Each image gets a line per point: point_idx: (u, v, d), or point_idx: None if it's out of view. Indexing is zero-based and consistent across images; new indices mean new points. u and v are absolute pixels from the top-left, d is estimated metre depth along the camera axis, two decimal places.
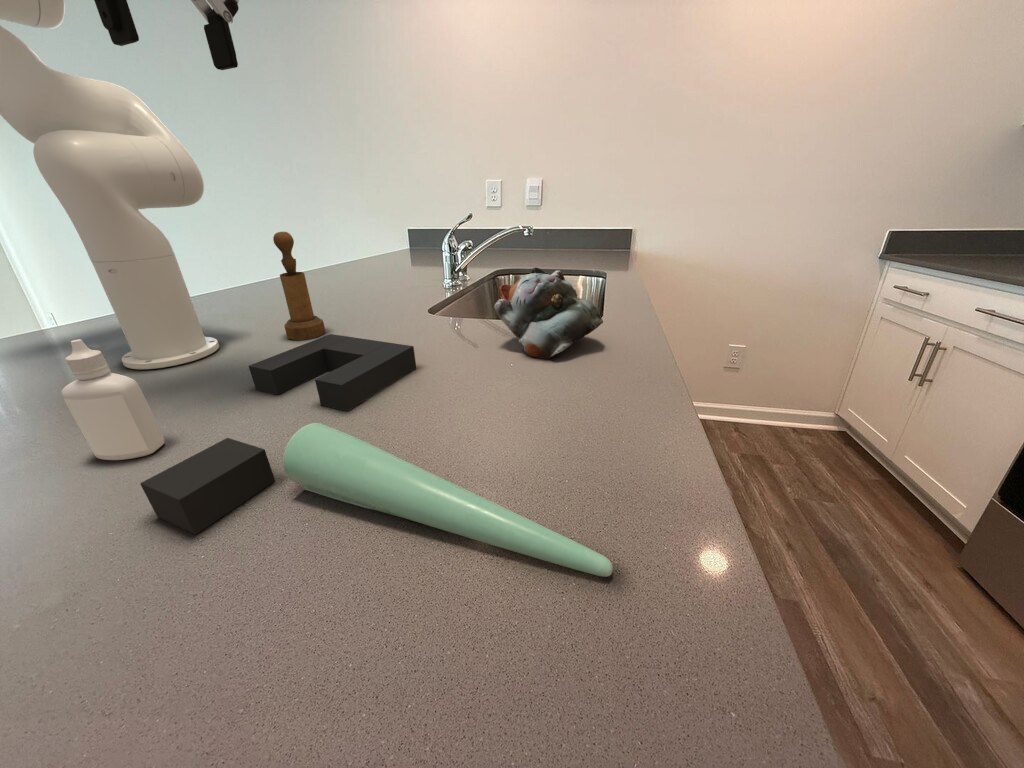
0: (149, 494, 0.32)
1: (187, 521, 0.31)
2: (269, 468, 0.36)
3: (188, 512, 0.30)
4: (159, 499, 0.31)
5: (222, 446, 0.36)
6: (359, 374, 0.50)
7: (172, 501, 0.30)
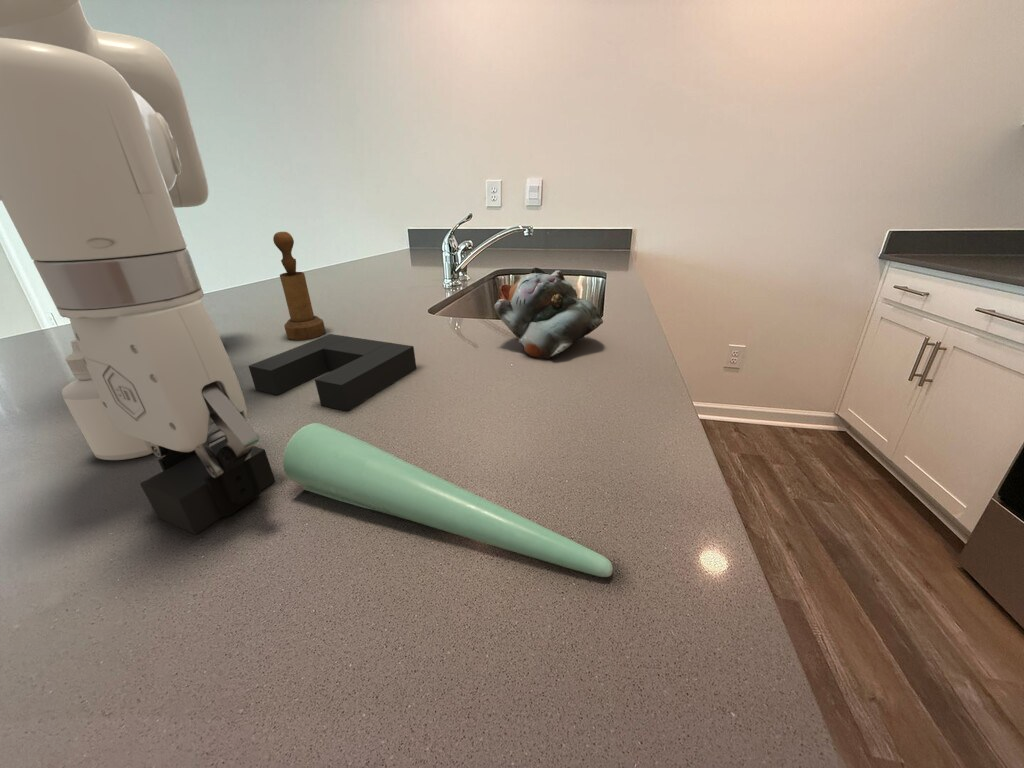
0: (149, 494, 0.32)
1: (187, 521, 0.31)
2: (269, 468, 0.36)
3: (188, 512, 0.30)
4: (159, 499, 0.31)
5: (222, 446, 0.36)
6: (359, 374, 0.50)
7: (172, 501, 0.30)
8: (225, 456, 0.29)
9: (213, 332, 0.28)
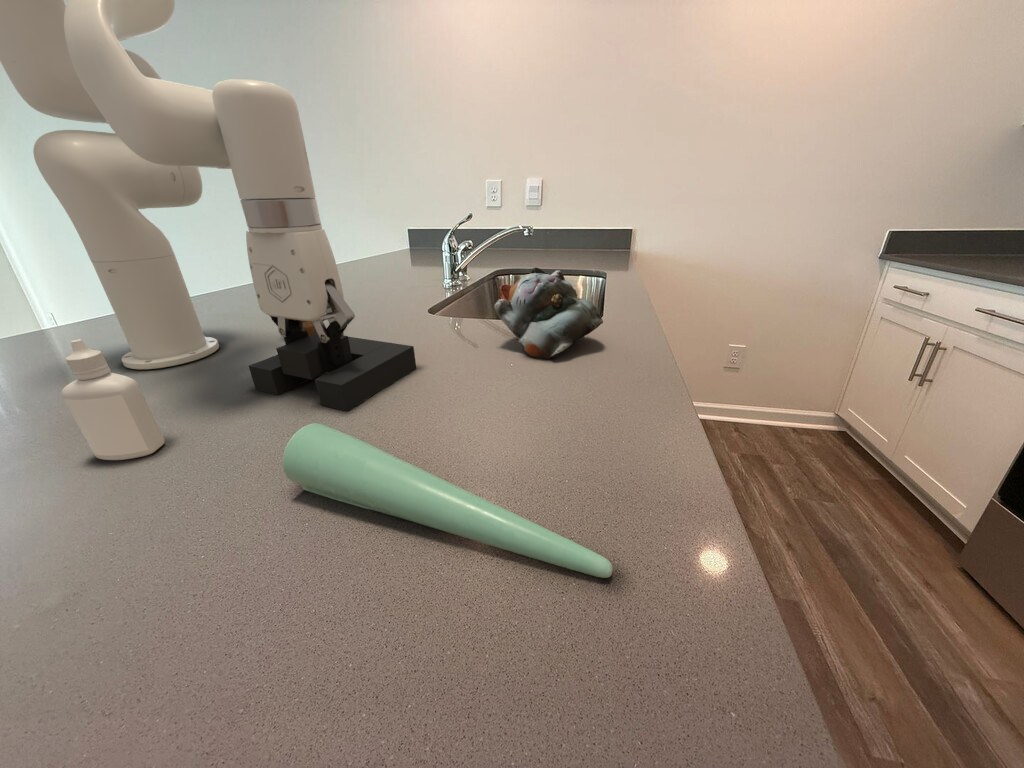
0: (281, 355, 0.50)
1: (307, 369, 0.50)
2: (349, 350, 0.55)
3: (308, 363, 0.49)
4: (289, 357, 0.50)
5: None
6: (359, 374, 0.50)
7: (299, 356, 0.49)
8: (334, 326, 0.48)
9: (330, 248, 0.47)
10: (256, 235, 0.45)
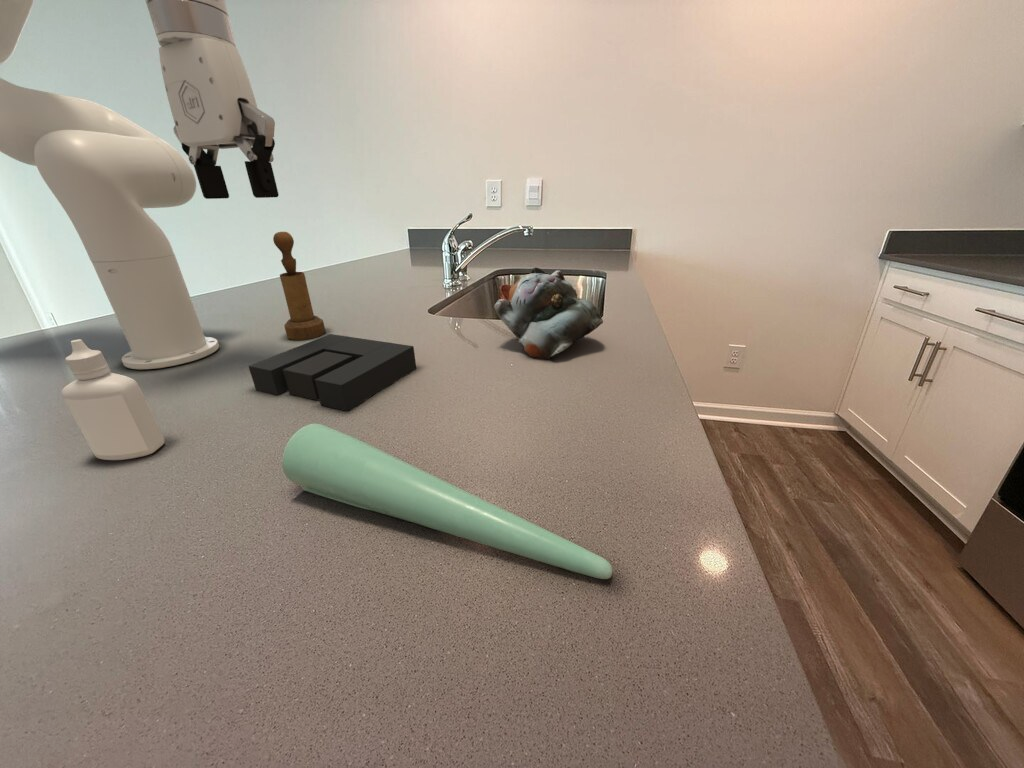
0: (287, 376, 0.52)
1: (313, 390, 0.51)
2: None
3: (314, 384, 0.50)
4: (295, 379, 0.51)
5: (324, 354, 0.56)
6: (359, 374, 0.50)
7: (305, 377, 0.50)
8: (259, 139, 0.48)
9: (244, 69, 0.47)
10: (167, 48, 0.46)
